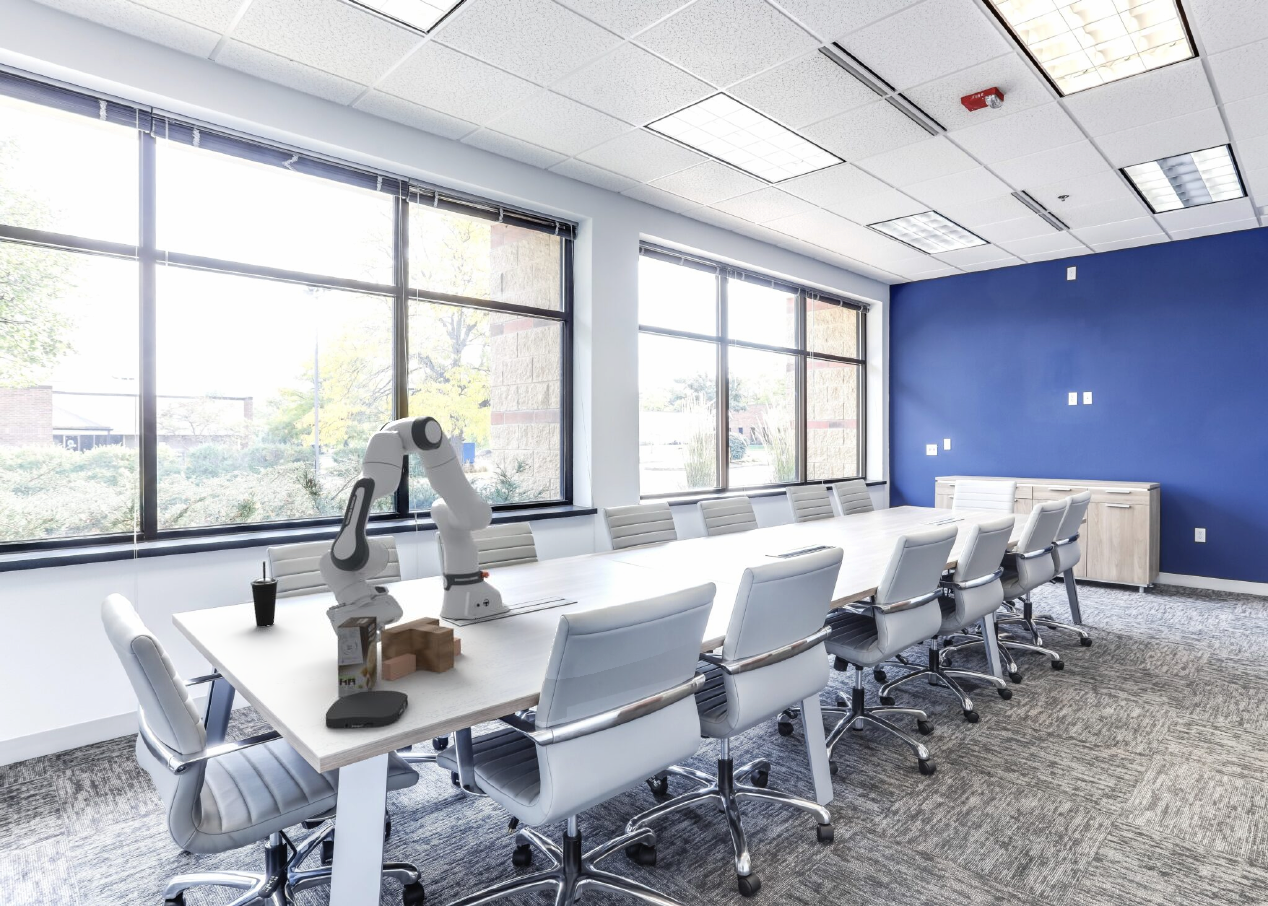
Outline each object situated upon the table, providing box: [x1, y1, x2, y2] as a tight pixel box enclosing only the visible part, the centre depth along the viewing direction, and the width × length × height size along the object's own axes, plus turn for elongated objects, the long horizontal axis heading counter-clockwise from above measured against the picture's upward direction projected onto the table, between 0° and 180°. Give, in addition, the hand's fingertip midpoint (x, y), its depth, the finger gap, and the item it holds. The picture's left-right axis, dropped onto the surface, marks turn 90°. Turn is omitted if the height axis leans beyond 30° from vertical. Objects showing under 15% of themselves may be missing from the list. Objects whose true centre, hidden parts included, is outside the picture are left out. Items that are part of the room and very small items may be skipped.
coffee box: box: [337, 617, 378, 698], centre depth 160 cm, size 9×6×16 cm
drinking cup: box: [250, 561, 279, 627], centre depth 218 cm, size 8×8×20 cm
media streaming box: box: [325, 689, 409, 730], centre depth 146 cm, size 15×15×3 cm
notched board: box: [381, 637, 462, 681], centre depth 178 cm, size 3×24×4 cm, turn 151°
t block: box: [380, 616, 455, 674], centre depth 177 cm, size 15×15×10 cm
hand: (382, 640), depth 185 cm, fingers closed
